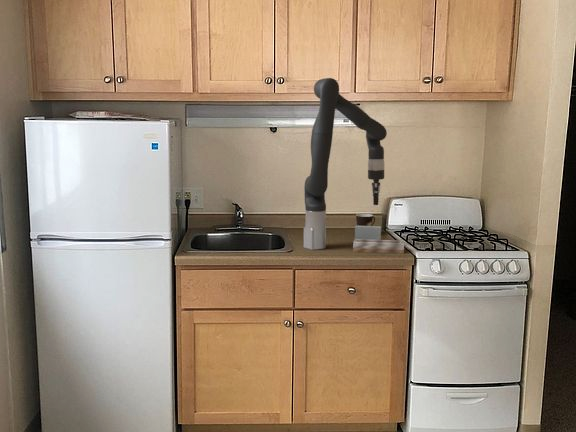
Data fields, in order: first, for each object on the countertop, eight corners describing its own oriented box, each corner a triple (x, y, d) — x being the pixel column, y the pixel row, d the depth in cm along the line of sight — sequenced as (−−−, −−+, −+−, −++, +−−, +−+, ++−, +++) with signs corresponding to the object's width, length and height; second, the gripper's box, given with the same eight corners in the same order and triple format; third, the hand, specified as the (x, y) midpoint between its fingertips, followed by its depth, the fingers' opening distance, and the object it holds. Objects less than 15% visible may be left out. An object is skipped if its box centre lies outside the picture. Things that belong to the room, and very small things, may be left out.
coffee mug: (359, 236, 285) (359, 217, 284) (353, 233, 294) (353, 214, 292) (381, 235, 288) (381, 215, 287) (374, 232, 297) (374, 213, 295)
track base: (352, 251, 253) (353, 242, 253) (354, 247, 262) (354, 238, 261) (403, 253, 250) (404, 244, 249) (403, 249, 258) (403, 240, 258)
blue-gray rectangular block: (354, 243, 270) (355, 226, 269) (355, 241, 274) (355, 225, 273) (380, 244, 268) (380, 227, 267) (380, 242, 272) (381, 226, 271)
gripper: (368, 167, 272) (368, 201, 275) (367, 170, 258) (367, 205, 261) (384, 167, 271) (384, 201, 274) (384, 170, 257) (384, 206, 260)
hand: (376, 203), depth 268 cm, fingers open, 8 cm apart
